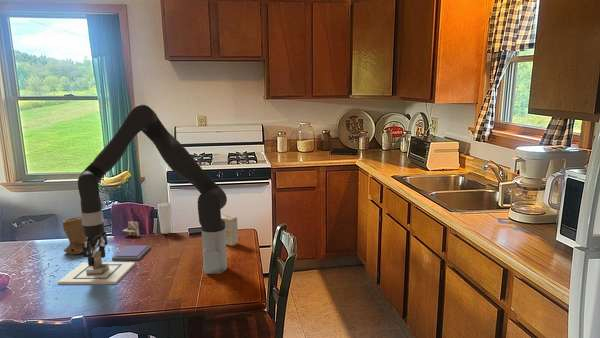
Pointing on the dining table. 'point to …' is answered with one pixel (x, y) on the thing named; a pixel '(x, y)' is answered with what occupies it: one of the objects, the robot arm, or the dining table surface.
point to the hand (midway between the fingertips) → (97, 261)
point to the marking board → (107, 277)
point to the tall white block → (165, 217)
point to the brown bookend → (74, 235)
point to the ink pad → (131, 253)
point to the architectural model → (132, 228)
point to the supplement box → (230, 230)
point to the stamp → (97, 265)
